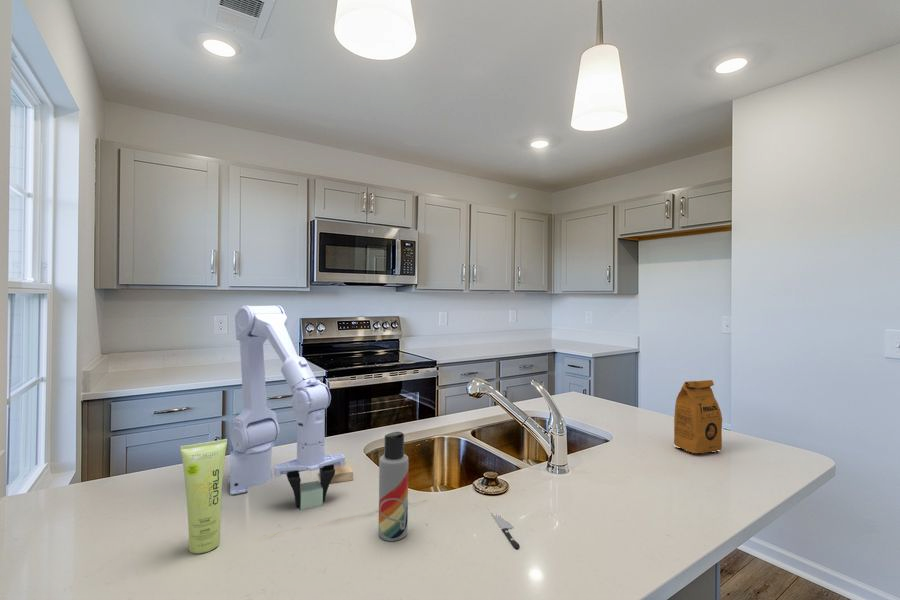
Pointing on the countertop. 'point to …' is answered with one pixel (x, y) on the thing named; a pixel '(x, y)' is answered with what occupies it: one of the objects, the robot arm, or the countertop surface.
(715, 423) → the coffee package
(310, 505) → the sage block
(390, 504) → the lotion bottle
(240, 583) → the countertop surface
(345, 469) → the tower top
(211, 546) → the tube
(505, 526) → the chef's knife
